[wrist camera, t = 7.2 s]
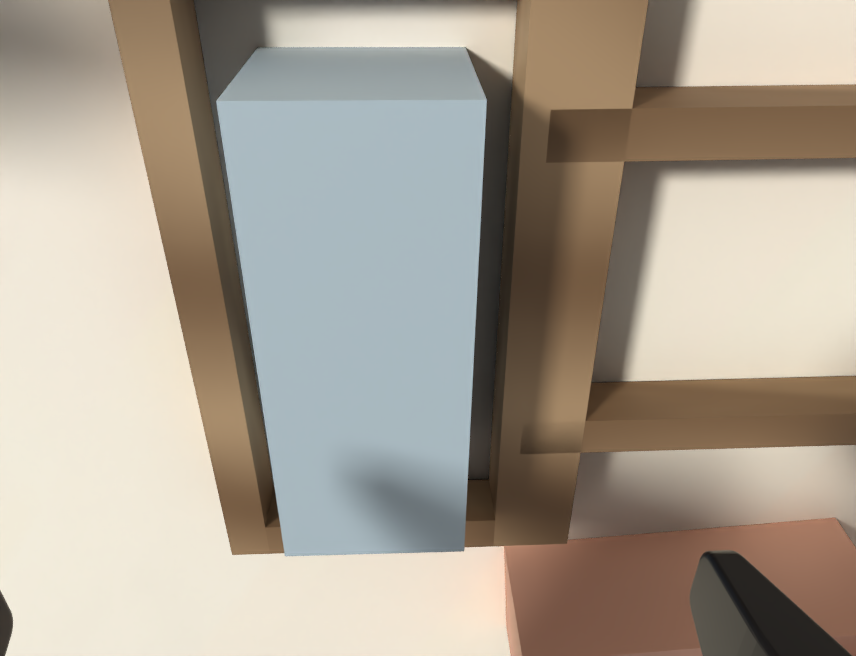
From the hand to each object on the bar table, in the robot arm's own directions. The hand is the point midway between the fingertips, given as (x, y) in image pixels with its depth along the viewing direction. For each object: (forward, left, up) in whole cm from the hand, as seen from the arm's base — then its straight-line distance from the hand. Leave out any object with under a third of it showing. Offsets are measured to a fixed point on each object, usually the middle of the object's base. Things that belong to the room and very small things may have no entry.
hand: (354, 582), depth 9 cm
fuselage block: (-11, -9, -9) cm, 17 cm away
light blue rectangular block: (0, 0, -9) cm, 9 cm away
